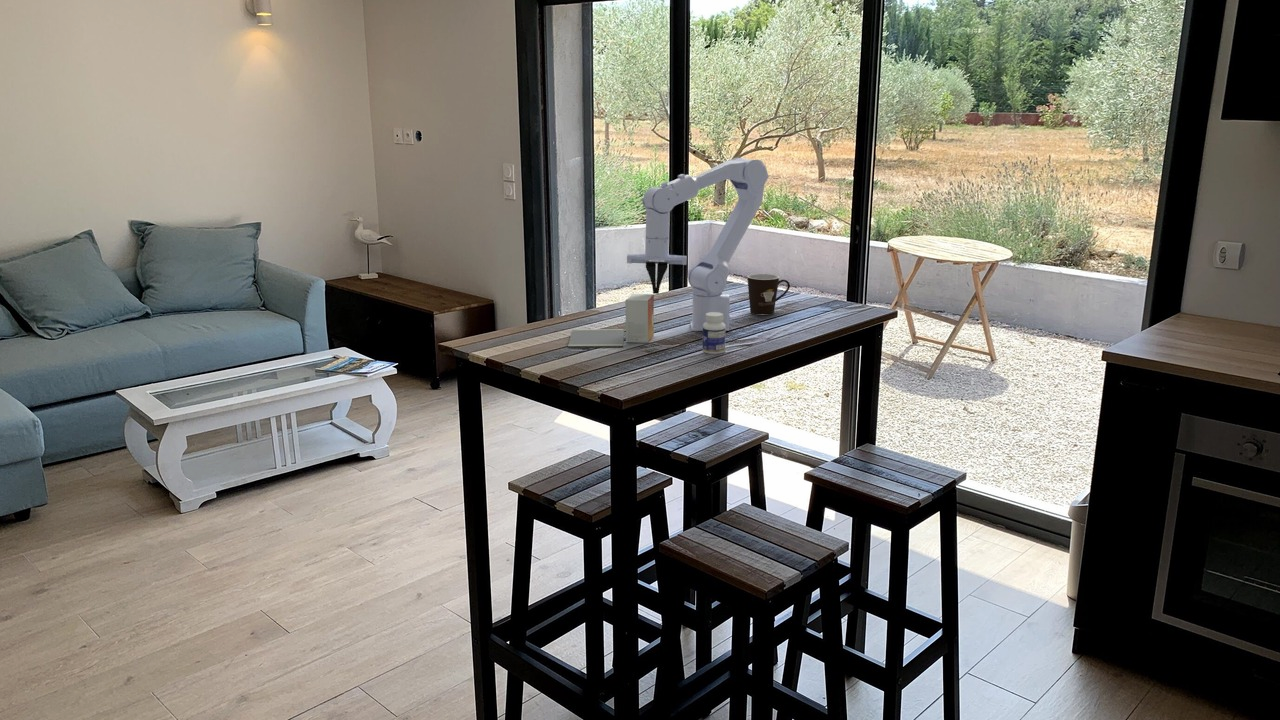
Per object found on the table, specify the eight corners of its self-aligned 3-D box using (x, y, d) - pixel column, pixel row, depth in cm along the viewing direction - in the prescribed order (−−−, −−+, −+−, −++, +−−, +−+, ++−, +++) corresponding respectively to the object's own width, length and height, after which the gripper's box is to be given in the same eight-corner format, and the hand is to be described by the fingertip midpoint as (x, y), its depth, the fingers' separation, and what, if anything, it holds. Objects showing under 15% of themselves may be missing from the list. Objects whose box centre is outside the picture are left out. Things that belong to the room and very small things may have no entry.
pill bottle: (702, 348, 216) (702, 311, 214) (724, 348, 216) (725, 311, 214) (702, 354, 211) (703, 316, 209) (725, 354, 211) (726, 316, 209)
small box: (648, 343, 221) (648, 300, 218) (625, 342, 222) (624, 299, 219) (654, 335, 229) (654, 293, 226) (632, 334, 230) (631, 293, 227)
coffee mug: (746, 315, 249) (747, 279, 246) (746, 309, 257) (747, 273, 254) (789, 316, 248) (791, 280, 245) (788, 309, 256) (790, 274, 253)
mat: (624, 331, 233) (624, 329, 233) (623, 347, 218) (623, 345, 217) (572, 331, 233) (572, 329, 233) (568, 347, 218) (568, 345, 217)
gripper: (626, 239, 220) (625, 295, 223) (687, 240, 220) (685, 296, 223) (627, 235, 227) (626, 289, 230) (686, 236, 227) (685, 291, 230)
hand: (655, 292), depth 227 cm, fingers closed
